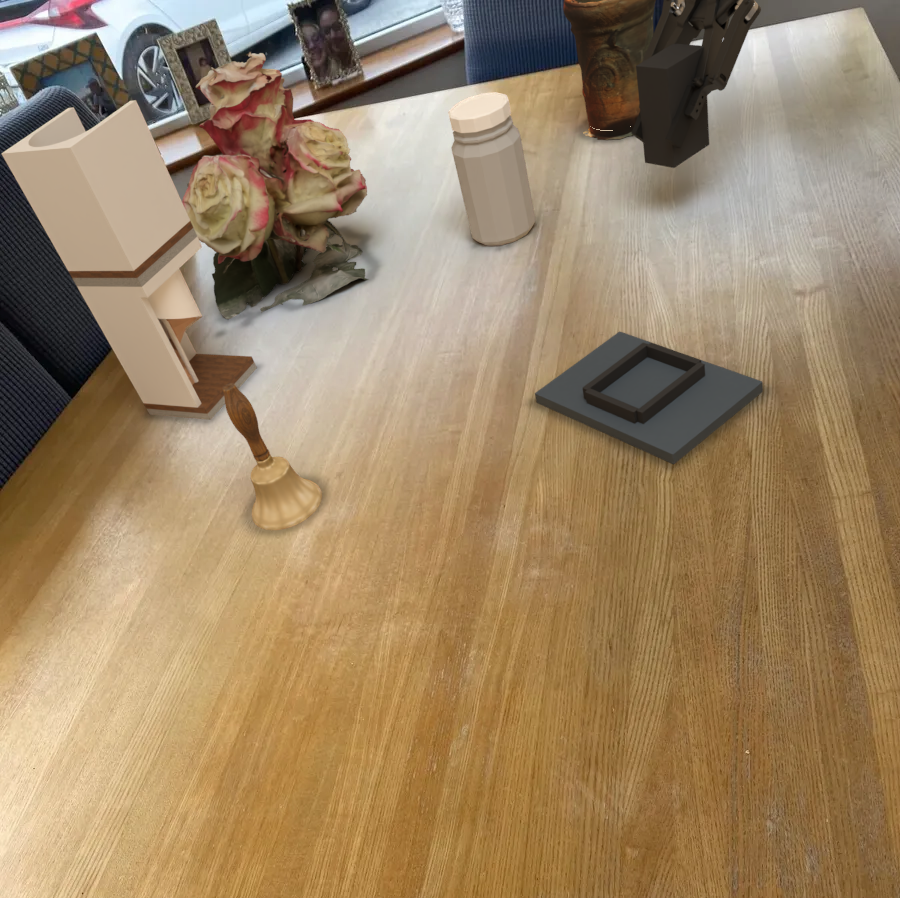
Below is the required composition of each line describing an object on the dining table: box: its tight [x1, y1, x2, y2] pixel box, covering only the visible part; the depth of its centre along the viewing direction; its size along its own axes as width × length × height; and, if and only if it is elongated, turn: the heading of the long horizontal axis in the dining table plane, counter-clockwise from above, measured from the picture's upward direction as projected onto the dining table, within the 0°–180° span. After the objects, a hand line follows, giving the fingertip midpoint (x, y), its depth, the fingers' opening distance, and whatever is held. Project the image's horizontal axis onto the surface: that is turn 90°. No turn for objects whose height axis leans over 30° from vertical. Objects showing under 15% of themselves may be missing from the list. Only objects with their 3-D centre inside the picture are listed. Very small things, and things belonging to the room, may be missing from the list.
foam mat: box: [534, 331, 764, 465], centre depth 102 cm, size 20×14×3 cm
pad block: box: [636, 44, 710, 169], centre depth 120 cm, size 5×7×12 cm
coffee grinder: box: [1, 99, 258, 421], centre depth 115 cm, size 11×11×35 cm
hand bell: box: [223, 383, 323, 531], centre depth 99 cm, size 8×8×16 cm
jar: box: [447, 91, 537, 247], centre depth 132 cm, size 10×10×18 cm
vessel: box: [562, 0, 657, 141], centre depth 148 cm, size 14×14×20 cm
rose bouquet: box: [181, 51, 368, 320], centre depth 135 cm, size 26×29×30 cm
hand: (656, 140), depth 121 cm, fingers closed on pad block, 5 cm apart
